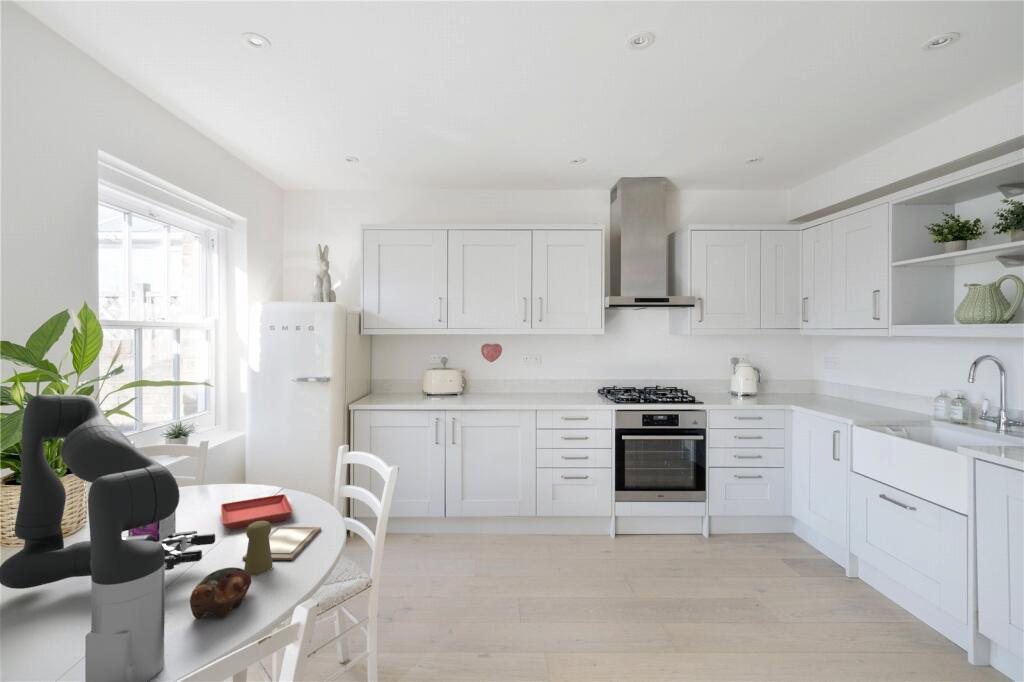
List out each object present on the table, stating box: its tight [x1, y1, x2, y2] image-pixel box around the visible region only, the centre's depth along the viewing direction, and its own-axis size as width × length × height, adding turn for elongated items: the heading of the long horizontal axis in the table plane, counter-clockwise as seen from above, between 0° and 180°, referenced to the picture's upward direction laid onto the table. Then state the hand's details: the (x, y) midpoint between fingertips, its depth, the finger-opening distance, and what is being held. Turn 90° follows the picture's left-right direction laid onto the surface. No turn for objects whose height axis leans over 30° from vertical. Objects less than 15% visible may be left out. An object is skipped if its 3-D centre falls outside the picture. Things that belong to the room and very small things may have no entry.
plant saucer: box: [220, 493, 294, 531], centre depth 140 cm, size 18×18×3 cm
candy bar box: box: [127, 477, 177, 541], centre depth 125 cm, size 11×5×16 cm, turn 74°
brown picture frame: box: [242, 526, 322, 561], centre depth 122 cm, size 18×12×1 cm, turn 1°
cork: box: [243, 521, 274, 576], centre depth 109 cm, size 6×6×11 cm
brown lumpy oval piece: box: [189, 566, 252, 620], centre depth 93 cm, size 10×15×8 cm, turn 1°
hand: (208, 546), depth 106 cm, fingers open, 8 cm apart
